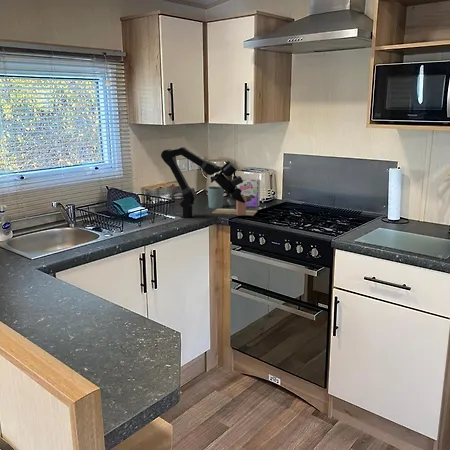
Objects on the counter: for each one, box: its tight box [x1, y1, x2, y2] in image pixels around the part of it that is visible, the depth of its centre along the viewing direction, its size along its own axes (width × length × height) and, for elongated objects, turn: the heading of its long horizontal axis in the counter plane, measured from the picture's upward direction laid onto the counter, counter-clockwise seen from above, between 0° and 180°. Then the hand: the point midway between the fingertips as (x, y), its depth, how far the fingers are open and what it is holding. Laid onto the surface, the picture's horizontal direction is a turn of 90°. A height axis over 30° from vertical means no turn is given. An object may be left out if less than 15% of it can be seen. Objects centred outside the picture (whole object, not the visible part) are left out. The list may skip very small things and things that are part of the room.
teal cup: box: [207, 185, 225, 209], centre depth 289 cm, size 10×10×12 cm
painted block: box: [235, 196, 247, 216], centre depth 261 cm, size 4×4×10 cm
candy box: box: [236, 178, 261, 208], centre depth 291 cm, size 14×6×16 cm, turn 73°
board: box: [211, 208, 258, 217], centre depth 274 cm, size 12×24×1 cm, turn 75°
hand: (243, 201), depth 261 cm, fingers closed on painted block, 4 cm apart
